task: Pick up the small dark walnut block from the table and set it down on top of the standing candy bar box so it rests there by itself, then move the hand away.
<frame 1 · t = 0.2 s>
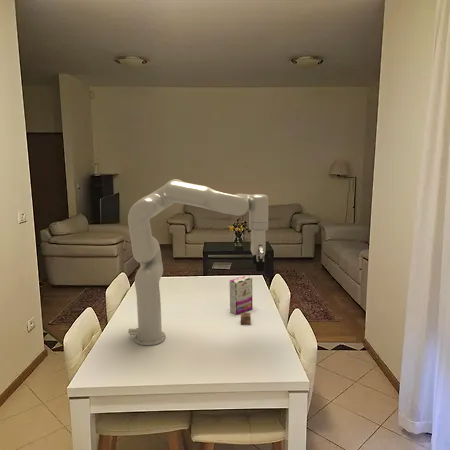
hand: (258, 267, 162), 31 cm above the table, tool pointing down, fingers open, 9 cm apart
walnut block: (245, 323, 184), on the table
candy bar box: (241, 311, 198), on the table
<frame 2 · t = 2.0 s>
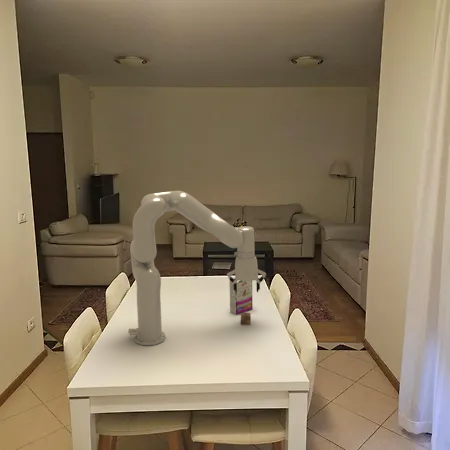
hand: (246, 291, 181), 15 cm above the table, tool pointing down, fingers open, 9 cm apart
nothing on the table moved.
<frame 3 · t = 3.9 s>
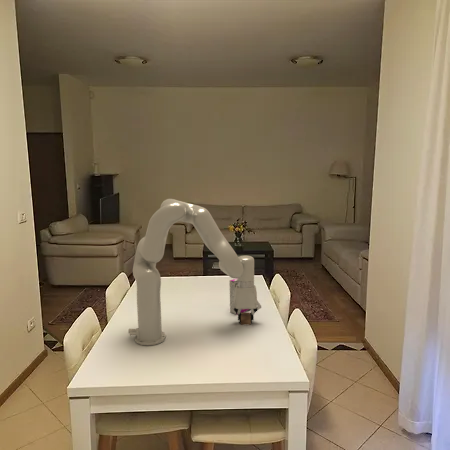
hand: (245, 321, 184), 1 cm above the table, tool pointing down, fingers closed on walnut block, 4 cm apart
walnut block: (245, 322, 184), on the table, touching gripper
everything else where it was.
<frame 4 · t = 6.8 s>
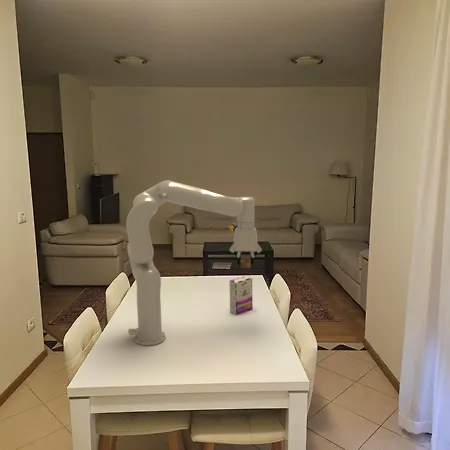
hand: (245, 265, 179), 27 cm above the table, tool pointing down, fingers closed on walnut block, 4 cm apart
walnut block: (245, 266, 179), point 26 cm above the table, touching gripper
everything else where it was.
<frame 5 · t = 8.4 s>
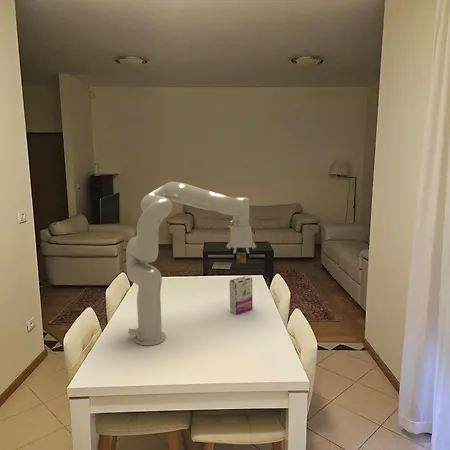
hand: (241, 260, 193), 25 cm above the table, tool pointing down, fingers closed on walnut block, 4 cm apart
walnut block: (241, 261, 193), point 25 cm above the table, touching gripper
everything else where it was.
when the fingers open (18 cm above the table, at t = 9.9 s): walnut block stays where it is, resting on candy bar box.
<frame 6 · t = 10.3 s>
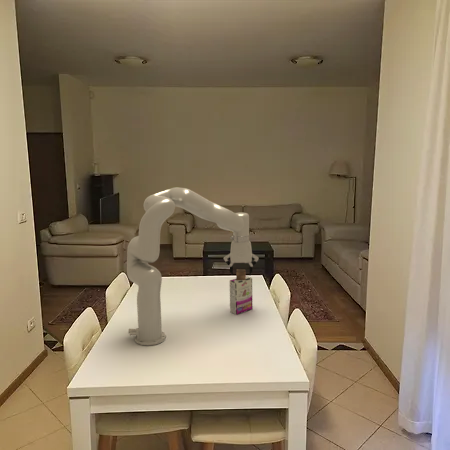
hand: (241, 274, 194), 19 cm above the table, tool pointing down, fingers open, 8 cm apart
walnut block: (240, 278, 195), point 16 cm above the table, touching candy bar box
candy bar box: (241, 311, 198), on the table, touching walnut block
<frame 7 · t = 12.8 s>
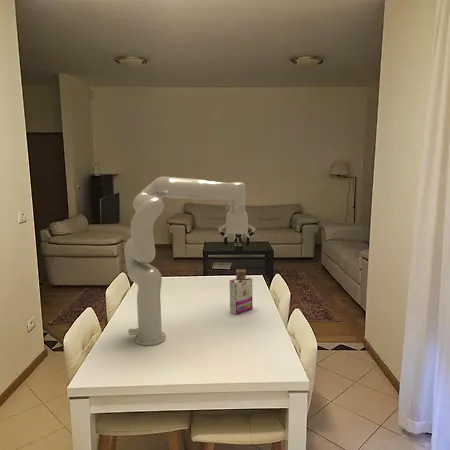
hand: (236, 245, 188), 34 cm above the table, tool pointing down, fingers open, 9 cm apart
nothing on the table moved.
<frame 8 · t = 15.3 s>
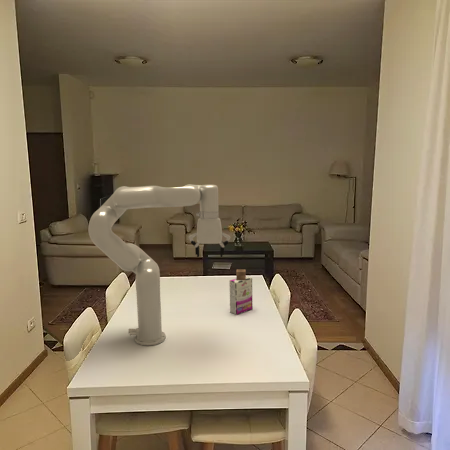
hand: (209, 256, 166), 34 cm above the table, tool pointing down, fingers open, 9 cm apart
nothing on the table moved.
at the end: walnut block 0.1 cm off-centre on the candy bar box, point 16.6 cm above the candy bar box's base; walnut block tilted 0°; the gripper is holding nothing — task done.
